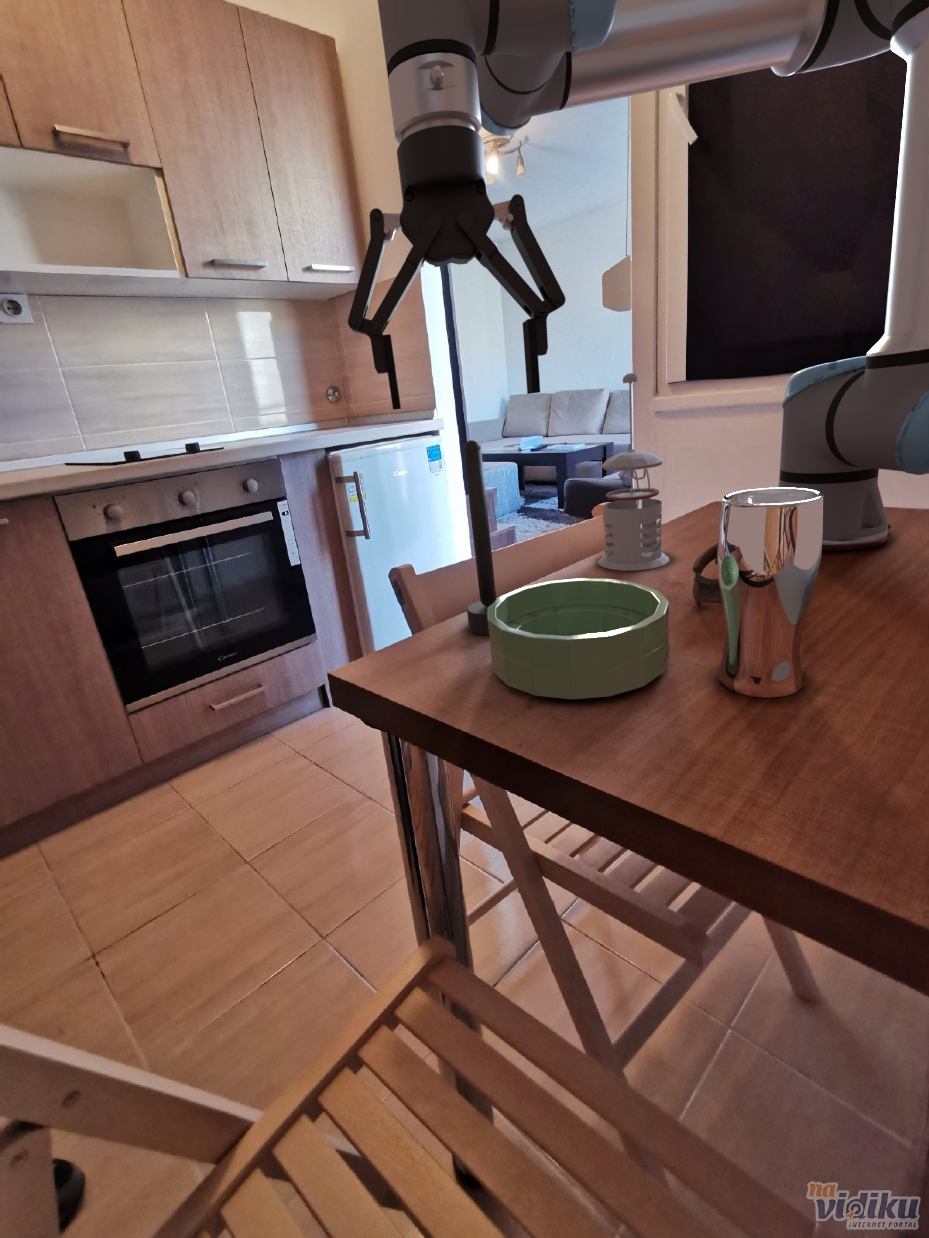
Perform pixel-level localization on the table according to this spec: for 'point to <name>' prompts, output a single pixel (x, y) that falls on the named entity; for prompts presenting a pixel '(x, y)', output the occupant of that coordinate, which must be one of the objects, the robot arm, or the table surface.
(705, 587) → the brown curved piece
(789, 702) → the table surface
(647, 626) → the bowl
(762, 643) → the beer glass
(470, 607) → the rod on round base
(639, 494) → the french press
